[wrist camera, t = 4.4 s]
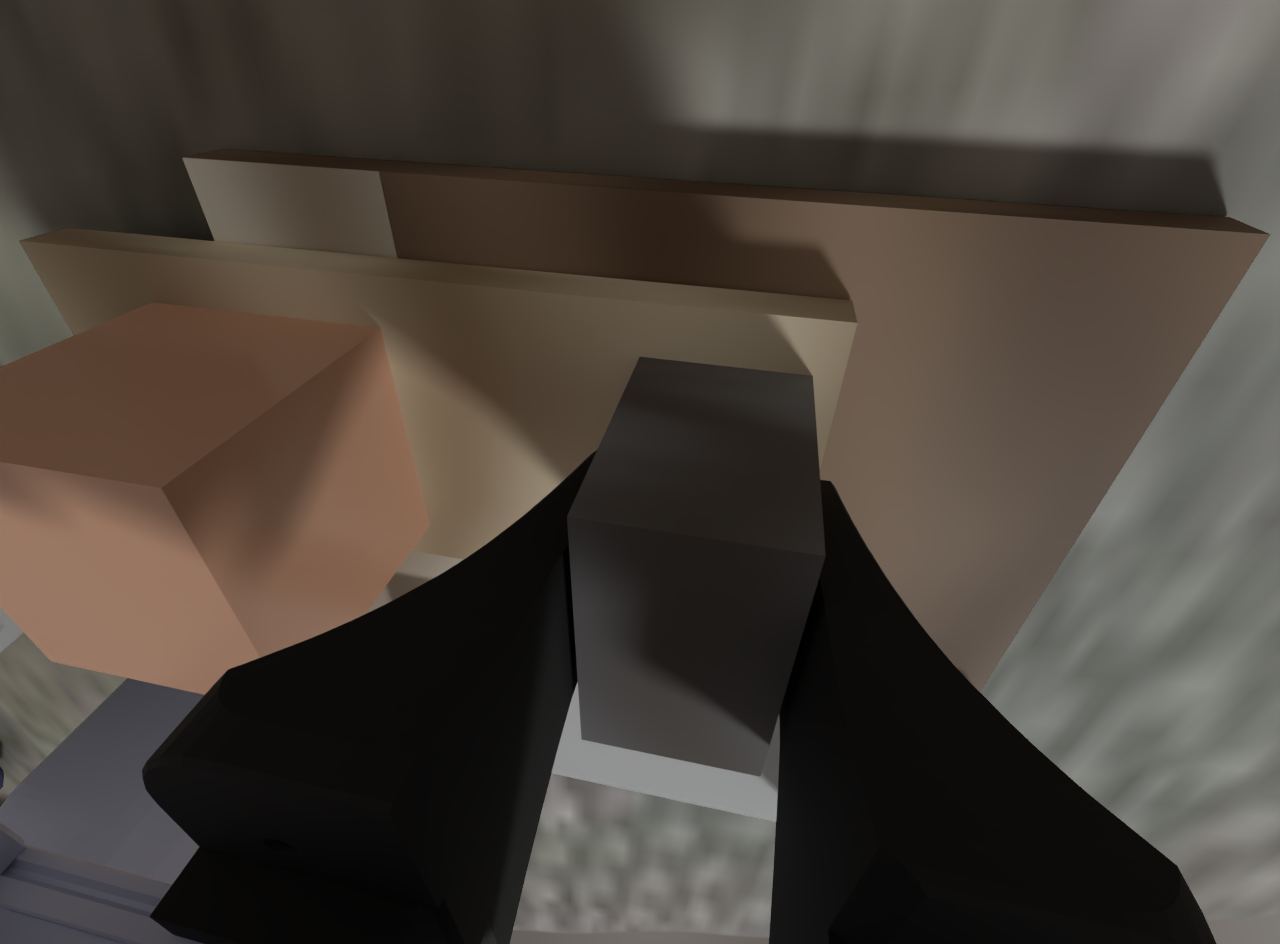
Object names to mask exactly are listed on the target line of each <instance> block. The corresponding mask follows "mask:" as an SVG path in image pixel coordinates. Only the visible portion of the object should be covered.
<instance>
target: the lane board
mask: <svg viewBox="0 0 1280 944" xmlns="http://www.w3.org/2000/svg"><path fill="white" fill-rule="evenodd" d="M182 159H183V161H184V164H185V166H186V169H187V172H188V174H189V177H190V179H191V182H192V184H193V187H194V189H195V192H196V195H197V197H198V200H199V202H200V205H201V207H202V210H203V212H204V215H205V217H206V220H207V223H208V225H209V228H210V230H211V233H212V235H213V238H214V240H215V241H218V242H228V243H239V244H250V245H261V246H271V247H282V248H293V249H304V250H315V251H325V252H336V253H347V254H358V255H368V256H379V257H390V258H401V259H411V260H422V261H433V262H444V263H455V264H465V265H476V266H487V267H498V268H508V269H519V270H530V271H541V272H552V273H562V274H573V275H584V276H595V277H605V278H616V279H627V280H638V281H649V282H659V283H670V284H681V285H692V286H702V287H713V288H724V289H735V290H746V291H756V292H767V293H778V294H789V295H799V296H810V297H821V298H832V299H842V300H852V301H853V306H854V310H855V314H856V318H857V327H856V331H855V335H854V339H853V343H852V347H851V351H850V355H849V358H848V362H847V366H846V370H845V374H844V378H843V382H842V386H841V390H840V394H839V397H838V401H837V405H836V409H835V413H834V417H833V421H832V425H831V429H830V433H829V436H828V440H827V444H826V448H825V452H824V456H823V460H822V464H821V468H820V480H826V481H831V482H832V484H833V485H834V486H835V488H836V490H837V492H838V494H839V496H840V498H841V500H842V502H843V504H844V506H845V508H846V510H847V512H848V513H849V515H850V517H851V519H852V521H853V523H854V524H855V526H856V528H857V530H858V532H859V533H860V535H861V537H862V538H863V540H864V542H865V544H866V545H867V547H868V549H869V550H870V552H871V553H872V555H873V556H874V558H875V560H876V561H877V563H878V564H879V566H880V568H881V569H882V571H883V572H884V574H885V575H886V577H887V578H888V580H889V581H890V583H891V584H892V586H893V587H894V589H895V590H896V592H897V593H898V594H899V596H900V597H901V599H902V600H903V601H904V603H905V604H906V606H907V607H908V608H909V610H910V611H911V613H912V614H913V615H914V617H915V618H916V619H917V620H918V622H919V623H920V624H921V626H922V627H923V628H924V630H925V631H926V632H927V633H928V635H929V636H930V637H931V638H932V640H933V641H934V642H935V643H936V644H937V645H938V647H939V648H940V649H941V650H942V651H943V653H944V654H945V655H946V656H947V657H948V659H949V660H950V661H951V662H952V663H953V664H954V665H955V667H956V668H957V669H958V670H959V671H960V672H961V673H962V674H963V675H964V676H965V677H966V679H967V680H968V681H969V682H970V683H971V684H972V685H973V686H974V687H975V688H976V689H977V690H978V691H979V692H980V691H981V690H982V688H983V686H984V685H985V683H986V682H987V680H988V678H989V677H990V675H991V674H992V672H993V671H994V669H995V667H996V666H997V664H998V663H999V661H1000V660H1001V658H1002V656H1003V655H1004V653H1005V652H1006V650H1007V649H1008V647H1009V645H1010V644H1011V642H1012V641H1013V639H1014V638H1015V636H1016V634H1017V633H1018V631H1019V630H1020V628H1021V626H1022V625H1023V623H1024V622H1025V620H1026V619H1027V617H1028V615H1029V614H1030V612H1031V611H1032V609H1033V608H1034V606H1035V604H1036V603H1037V601H1038V600H1039V598H1040V597H1041V595H1042V593H1043V592H1044V590H1045V589H1046V587H1047V586H1048V584H1049V582H1050V581H1051V579H1052V578H1053V576H1054V574H1055V573H1056V571H1057V570H1058V568H1059V567H1060V565H1061V563H1062V562H1063V560H1064V559H1065V557H1066V556H1067V554H1068V552H1069V551H1070V549H1071V548H1072V546H1073V545H1074V543H1075V541H1076V540H1077V538H1078V537H1079V535H1080V534H1081V532H1082V530H1083V529H1084V527H1085V526H1086V524H1087V522H1088V521H1089V519H1090V518H1091V516H1092V515H1093V513H1094V511H1095V510H1096V508H1097V507H1098V505H1099V504H1100V502H1101V500H1102V499H1103V497H1104V496H1105V494H1106V493H1107V491H1108V489H1109V488H1110V486H1111V485H1112V483H1113V481H1114V480H1115V478H1116V477H1117V475H1118V474H1119V472H1120V470H1121V469H1122V467H1123V466H1124V464H1125V463H1126V461H1127V459H1128V458H1129V456H1130V455H1131V453H1132V452H1133V450H1134V448H1135V447H1136V445H1137V444H1138V442H1139V441H1140V439H1141V437H1142V436H1143V434H1144V433H1145V431H1146V429H1147V428H1148V426H1149V425H1150V423H1151V422H1152V420H1153V418H1154V417H1155V415H1156V414H1157V412H1158V411H1159V409H1160V407H1161V406H1162V404H1163V403H1164V401H1165V400H1166V398H1167V396H1168V395H1169V393H1170V392H1171V390H1172V389H1173V387H1174V385H1175V384H1176V382H1177V381H1178V379H1179V377H1180V376H1181V374H1182V373H1183V371H1184V370H1185V368H1186V366H1187V365H1188V363H1189V362H1190V360H1191V359H1192V357H1193V355H1194V354H1195V352H1196V351H1197V349H1198V348H1199V346H1200V344H1201V343H1202V341H1203V340H1204V338H1205V337H1206V335H1207V333H1208V332H1209V330H1210V329H1211V327H1212V325H1213V324H1214V322H1215V321H1216V319H1217V318H1218V316H1219V314H1220V313H1221V311H1222V310H1223V308H1224V307H1225V305H1226V303H1227V302H1228V300H1229V299H1230V297H1231V296H1232V294H1233V292H1234V291H1235V289H1236V288H1237V286H1238V285H1239V283H1240V281H1241V280H1242V278H1243V277H1244V275H1245V273H1246V272H1247V270H1248V269H1249V267H1250V266H1251V264H1252V262H1253V261H1254V259H1255V258H1256V256H1257V255H1258V253H1259V251H1260V250H1261V248H1262V247H1263V245H1264V244H1265V242H1266V240H1267V239H1268V237H1269V236H1270V234H1268V233H1266V232H1263V231H1261V230H1259V229H1256V228H1254V227H1251V226H1249V225H1247V224H1244V223H1242V222H1240V221H1237V220H1235V219H1233V218H1230V217H1218V216H1203V215H1188V214H1174V213H1159V212H1144V211H1129V210H1114V209H1100V208H1085V207H1070V206H1055V205H1040V204H1026V203H1011V202H996V201H981V200H966V199H952V198H937V197H922V196H907V195H892V194H878V193H863V192H848V191H833V190H818V189H804V188H789V187H774V186H759V185H744V184H730V183H715V182H700V181H685V180H670V179H656V178H641V177H626V176H611V175H596V174H582V173H567V172H552V171H537V170H522V169H508V168H493V167H478V166H463V165H448V164H434V163H419V162H404V161H389V160H374V159H359V158H345V157H330V156H315V155H300V154H285V153H271V152H256V151H241V150H226V149H222V150H217V151H212V152H208V153H203V154H198V155H193V156H189V157H184V158H182ZM462 560H464V559H458V558H452V557H446V556H440V555H434V554H428V553H422V552H416V551H411V552H410V553H409V555H408V556H407V558H406V559H405V560H404V562H403V563H402V565H401V566H400V567H399V569H398V570H397V571H396V573H395V574H394V576H393V577H392V578H391V580H390V581H389V582H388V584H387V585H386V587H385V588H384V589H383V591H382V592H381V594H380V595H379V596H378V598H377V599H376V600H375V602H374V603H373V605H372V606H371V607H370V609H369V610H368V611H367V613H369V612H371V611H373V610H375V609H377V608H379V607H381V606H383V605H385V604H387V603H389V602H391V601H393V600H395V599H396V598H398V597H400V596H402V595H404V594H406V593H407V592H409V591H411V590H413V589H415V588H417V587H418V586H420V585H422V584H424V583H426V582H427V581H429V580H431V579H433V578H435V577H437V576H438V575H440V574H442V573H443V572H445V571H447V570H448V569H450V568H451V567H453V566H454V565H456V564H458V563H459V562H461V561H462Z"/></svg>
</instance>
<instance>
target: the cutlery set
mask: <svg viewBox="0 0 1280 944" xmlns="http://www.w3.org/2000/svg"><path fill="white" fill-rule="evenodd" d="M3 779H4V773H3V770H2V769H1V767H0V789H1V788H2V787H3Z"/></svg>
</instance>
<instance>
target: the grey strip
mask: <svg viewBox="0 0 1280 944" xmlns="http://www.w3.org/2000/svg"><path fill="white" fill-rule="evenodd" d="M779 752H780V719H779V716H778V719H777V722H776V726H775V729H774V732H773V736H772V739H771V743H770V746H769V749H768V753H767V756H766V760H765V763H764V766H763V770H762V773H761V776H760V777H759V776H754V775H749V774H745V773H740V772H735V771H730V770H725V769H721V768H716V767H711V766H706V765H701V764H697V763H692V762H687V761H682V760H677V759H673V758H668V757H663V756H658V755H653V754H648V753H644V752H639V751H634V750H629V749H624V748H620V747H615V746H610V745H605V744H600V743H596V742H591V741H586V740H582V739H581V724H580V709H579V693H578V682H577V685H576V688H575V691H574V694H573V697H572V700H571V703H570V706H569V710H568V713H567V717H566V721H565V724H564V728H563V732H562V735H561V739H560V742H559V746H558V750H557V753H556V757H555V761H554V765H553V769H552V772H551V773H553V774H558V775H562V776H567V777H572V778H576V779H581V780H585V781H590V782H594V783H599V784H604V785H608V786H613V787H617V788H622V789H627V790H631V791H636V792H640V793H645V794H650V795H654V796H659V797H663V798H668V799H672V800H677V801H682V802H686V803H691V804H695V805H700V806H705V807H709V808H714V809H718V810H723V811H728V812H732V813H737V814H741V815H746V816H750V817H755V818H760V819H764V820H769V821H773V822H776V818H777V799H778V776H779Z"/></svg>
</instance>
